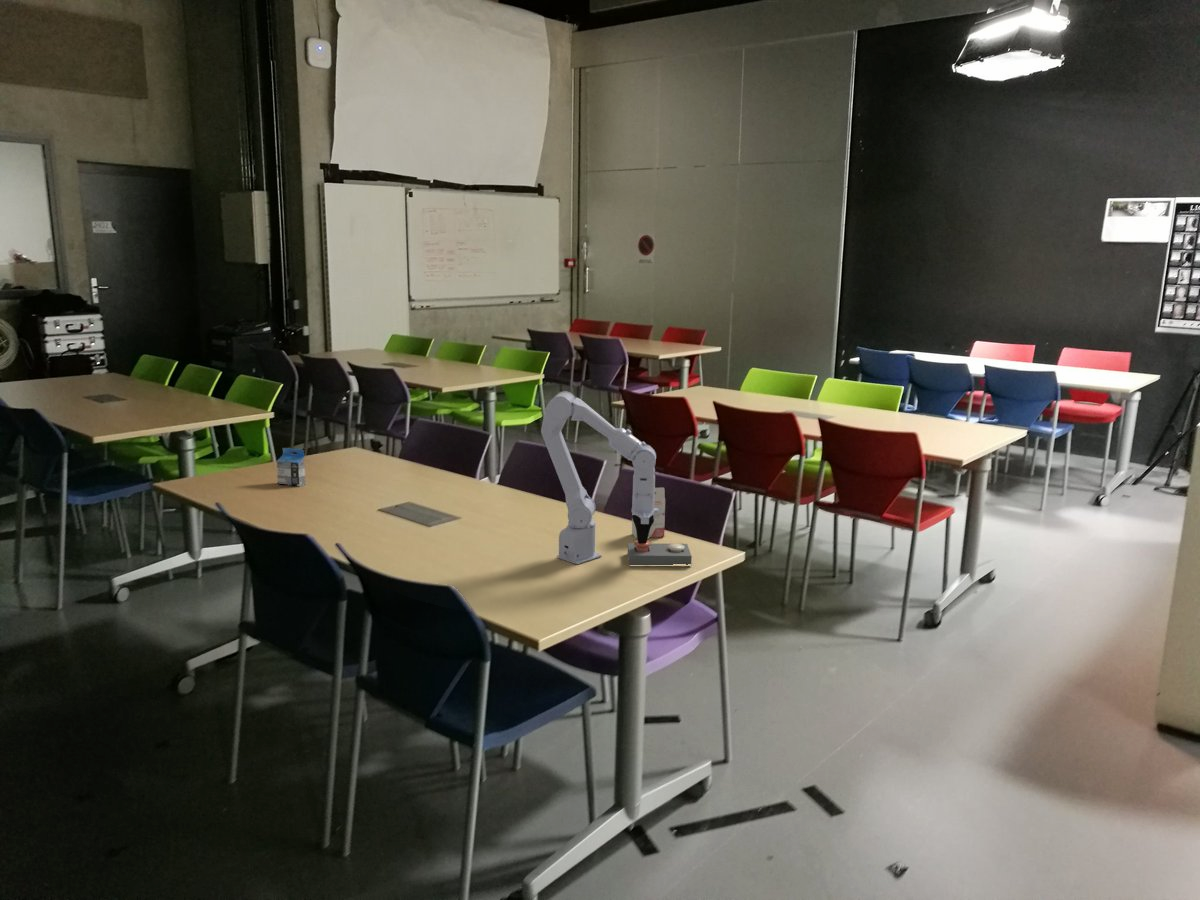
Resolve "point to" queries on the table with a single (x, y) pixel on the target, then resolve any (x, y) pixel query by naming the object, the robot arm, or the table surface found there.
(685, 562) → the console
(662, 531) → the ink cartridge box
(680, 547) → the plunger ivory
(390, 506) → the table surface
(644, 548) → the plunger red
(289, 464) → the label tape box
